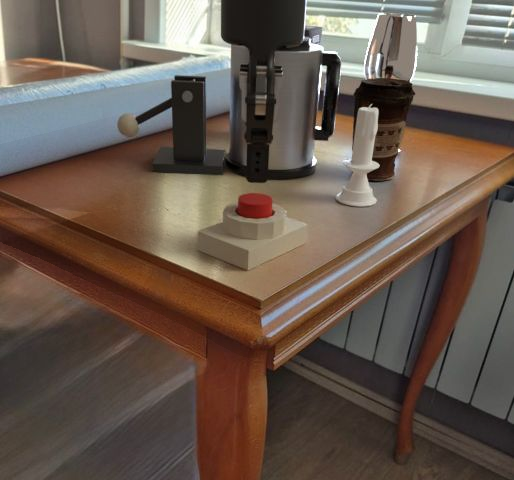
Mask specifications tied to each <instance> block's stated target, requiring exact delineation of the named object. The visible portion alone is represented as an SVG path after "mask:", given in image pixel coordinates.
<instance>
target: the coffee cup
mask: <svg viewBox="0 0 514 480" xmlns="http://www.w3.org/2000/svg"><path fill="white" fill-rule="evenodd" d="M352 94H353V95H352V96H353V97H354V101H353V102H354V104H353V107H354V109H353V122H352V144H351V151H352V152H353V144H354V137H355V129H356V121H357V115H358V110H359V108H362V107H369V106H370V105H371V104H372V105H371V107H370V108H377V109H378V111H379V114H378V130H377V133H376V135H375V142H374V148H373V155H372V161H375V162H377V163H378V164H379V165H380V166H379V168H377V169H375V170H373V171H371V172H369V173H367V179H368V181H387V180H388V181H389V180H392V179H393V178H395V176H396V174H395V168H396V158H397V157H398V155H399V154H398V151H399V150H400V147H401V145H402V143H403V138H404V135H405V132H406V126H407V123H406V121H407V118H408V113H409V109H410V107H411V105H412V102H413V101H414V97H415V96H416V92H415V91H414V89H413V83H412V82H411V81H410V82H409V81H406V80H401V79H393V78H375V79H363V80H360V84H359V85H358V87H356V89H355V91H354V92H353V93H352ZM350 171H351V170H350ZM352 174H353V172H352V171H351V175H352Z"/></svg>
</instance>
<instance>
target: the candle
mask: <svg viewBox="0 0 514 480" xmlns="http://www.w3.org/2000/svg"><path fill="white" fill-rule="evenodd" d="M371 105H372V104H371ZM371 105H370V106H369V107H362V108H359V110H358V115H357V121H356V129H355V137H354V144H353V143H352V144H353V151H352V152H351V153H352V154H351V158H347V159H344V160H343V161H342V165H343V166H344V167H346V168H347V169H349V170H350V171H352V172H353V174H352V172H351V176H350V178H349V179H348V182H347V184H345V185H343V187H342V188H341V189H342V190H341V192H339V193H337V195H335V199H336V201H337V202H339V203H340V204H343V205H346V206H350V207H357V208H359V207H360V208H361V207H370V206H374V205H376V203H377V201H378V200H377V198H376V197H375V196H374V194H373V188H372V187H371V186H370V183H369V180H368V179H367V173H369V172H371V171H373V170H375V169H377V168H379V166H380V165H379V164H378V163H377V162H375V161H372V155H373V148H374V142H375V135H376V133H377V130H378V114H379V111H378V109H377V108H370V107H371Z"/></svg>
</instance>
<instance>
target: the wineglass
mask: <svg viewBox="0 0 514 480" xmlns="http://www.w3.org/2000/svg"><path fill="white" fill-rule="evenodd" d="M417 27H418V26H417V16H416V15H415V14H410V13H398V12H380V13H378V15H377V18H376V21H375V24H374V27H373V29H372V33H371V36H370V39H369V42H368V47H367V50H366V55H365V59H364V64H363V65H364V67H363V68H364V70H363V73H364V78H365V79H364V80H366V79H375V78H393V79H401V80H406V81H409V82H410V83H411V81H412V79H413V77H414V75H415V71H416V67H417V58H418V57H417V56H418V52H417V51H418V29H417ZM400 154H401V150H400V149H399V151H398V155H400Z"/></svg>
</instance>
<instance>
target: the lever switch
mask: <svg viewBox="0 0 514 480" xmlns="http://www.w3.org/2000/svg"><path fill="white" fill-rule="evenodd" d="M191 81H195V79H193V80H191ZM169 109H172V97H170V98H168V99H166V100H163V101H162V102H160V103H158V104H157V105H155V106H153V107H151V108H150V109H148V110H145V111H144V112H142V113H139V115H137V116H136V115H134V114H132V113H124V114H122V115H120V116H119V117H118V120H117V124H116V125H117V126H116V127H117V129H118V132H119V133H120V134H121V135H122V136H124V137H126V138H133V137H135V136H137V135H138V133H139V132H140V130H141V124H143V123H145V122H147V121H149V120H151V119H153V118H154V117H156V116H158V115H160V114H162V113H164V112H165V111H168V110H169Z"/></svg>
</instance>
